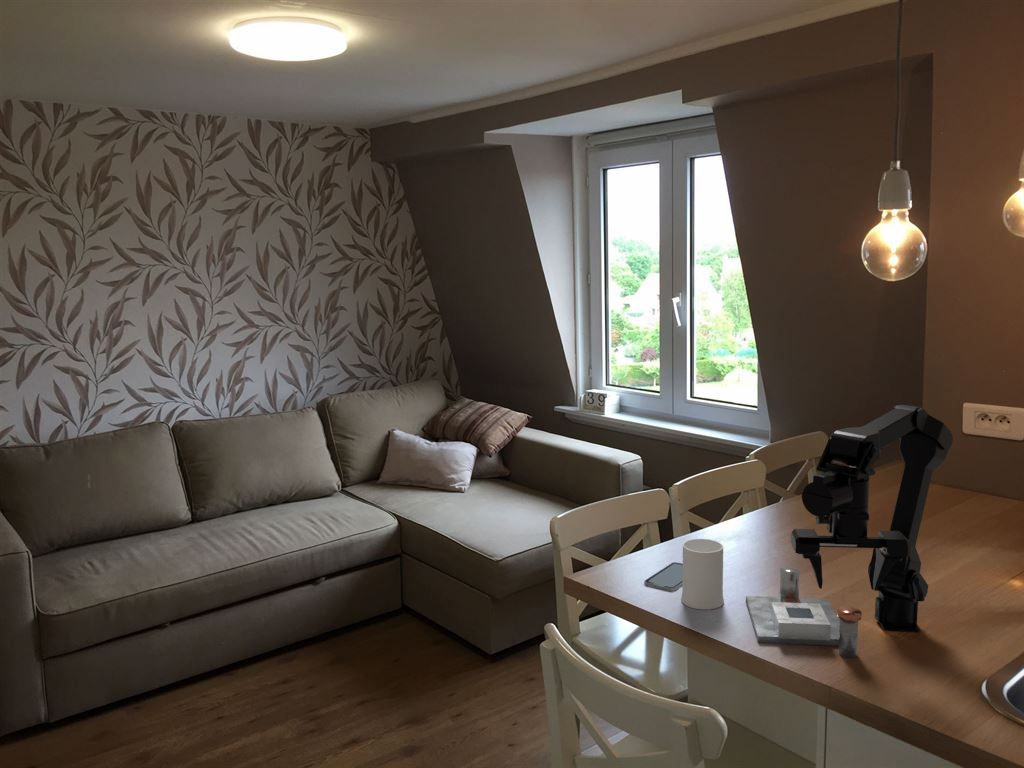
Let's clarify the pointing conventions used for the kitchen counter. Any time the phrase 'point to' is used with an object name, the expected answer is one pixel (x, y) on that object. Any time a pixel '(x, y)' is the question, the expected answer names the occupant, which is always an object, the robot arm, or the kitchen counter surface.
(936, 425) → the robot arm
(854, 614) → the copper-capped peg
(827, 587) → the kitchen counter surface
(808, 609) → the socket base
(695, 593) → the mug
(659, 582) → the smartphone
